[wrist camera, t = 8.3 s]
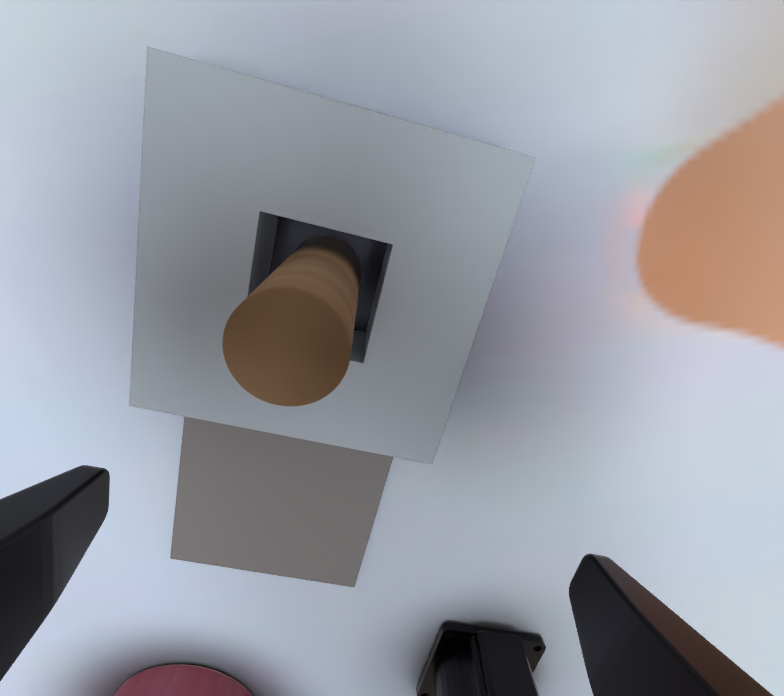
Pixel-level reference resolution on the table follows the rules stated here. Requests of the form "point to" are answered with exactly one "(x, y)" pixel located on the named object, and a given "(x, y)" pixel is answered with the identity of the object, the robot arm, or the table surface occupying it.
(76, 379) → the table surface
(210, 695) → the plant pot
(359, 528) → the mat
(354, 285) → the peg
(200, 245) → the socket block
